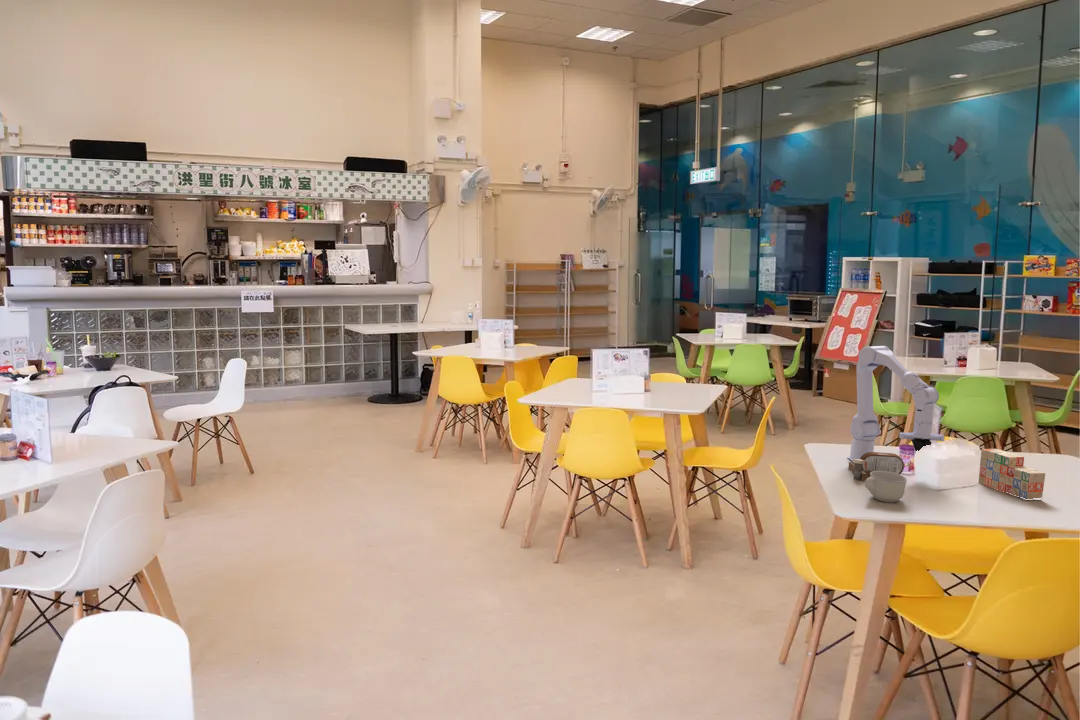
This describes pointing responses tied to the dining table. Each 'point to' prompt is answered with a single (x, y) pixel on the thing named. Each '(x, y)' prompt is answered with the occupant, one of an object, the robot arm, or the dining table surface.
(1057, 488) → the dining table surface
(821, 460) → the dining table surface
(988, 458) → the stack of blocks
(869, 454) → the tin
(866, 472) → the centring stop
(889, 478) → the teacup
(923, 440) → the robot arm
